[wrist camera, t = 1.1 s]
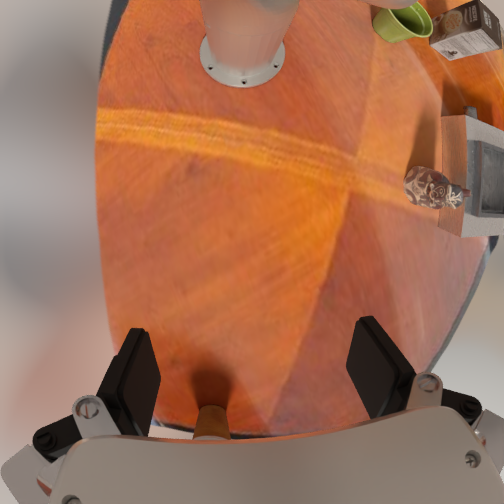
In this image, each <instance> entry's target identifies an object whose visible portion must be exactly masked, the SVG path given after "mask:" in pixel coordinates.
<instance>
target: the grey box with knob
mask: <svg viewBox="0 0 504 504" xmlns="http://www.w3.org/2000/svg"><path fill="white" fill-rule="evenodd" d="M463 109H464V115H456V116H442V117H441V124H442V155H443V159H442V174H443V175H444V176H445V177H446V178H447V179H448V180H449V182H450V183H453V184H456V185H460V186H461V187H462V188H463V189H468V190H470V191H471V196H470V197H463V203H462V204H461V205H460V206H459V207H457V208H456V209H453V208H451V207H446V206H444V207H443V208H441V209H440V215H439V224H438V227H439V228H441V229H443V230H446V231H448V232H450V233H452V234H454V235H457V236H459V237H477V236H492V235H504V131H502V130H500V129H498V128H495V127H493V126H491V125H489V124H486V123H484V122H482V121H479V120H477V109H476V108H475V107H471V106H464V107H463Z"/></svg>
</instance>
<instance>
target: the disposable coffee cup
mask: <svg viewBox="0 0 504 504" xmlns="http://www.w3.org/2000/svg"><path fill="white" fill-rule="evenodd" d="M192 440H231V438H230V433H229V427H228V422H227V416H226V411H225V410H224V409H223V408H222V407H220V406H217V405H206V406H203V407H202V408H201V409H200V411H199V415H198V419H197V423H196V427H195V431H194V435H193V439H192Z"/></svg>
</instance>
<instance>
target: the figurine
mask: <svg viewBox="0 0 504 504" xmlns="http://www.w3.org/2000/svg"><path fill="white" fill-rule="evenodd" d="M403 184H404V193H405V194H406V196H407V198H408V199H409V201H410V202H411V203H412V204H415V205H419V206H423V207H428V208H433V209H441V208H443V207H444V206H446V207H451V208H453V209H456V208H457V207H459V206H460V205H461V204H462V203H463V197H470V196H471V191H470V190H468V189H463V188H462V187H461V186H460V185H456V184H453V183H450V182H449V180H448V179H447V178H446V177H445V176H444V175H443V174H442V173H440V172H438V171H435V170H433V169H430V168H427V167H423V166H415V167H412V168H411V170H410V171H409V172H408V174H407V176H406V177H405V179H404V181H403Z"/></svg>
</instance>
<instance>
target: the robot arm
mask: <svg viewBox="0 0 504 504" xmlns="http://www.w3.org/2000/svg"><path fill="white" fill-rule="evenodd" d="M199 1H200V6H201V10H202V15H203V20H204V25H205V30H206V36H205V37H204V39H203V40H202V43H201V46H200V60H201V63H202V65H203V67H204V69H205V71H206V72H207V73H208V75H209V76H210V77H212V78H213V79H214V80H215V81H217V82H219V83H221V84H223V85H226V86H229V87H235V88H250V87H255V86H258V85H261V84H264V83H265V82H267V81H269V80H270V79H272V78H273V77H274V76H275V75H276V74H277V73H278V72H279V70H280V69H281V67H282V65H283V62H284V59H285V47H284V44H283V41H282V40H283V38H284V36H285V34H286V32H287V30H288V28H289V26H290V24H291V22H292V20H293V18H294V15H295V13H296V11H297V9H298V6H299V0H199ZM357 1H361V2H364V3H367V4H371V5H374V6H378V7H382V8H387V9H403V8H407V7H409V6H411V5H413V4H414V3H416V2H417V1H418V0H357ZM274 66H277V68H275V67H274ZM209 68H212V70H209ZM242 82H245V83H246V84H242ZM346 368H347V371H348V373H349V375H350V377H351V379H352V381H353V383H354V385H355V387H356V389H357V392H358V394H359V396H360V398H361V400H362V402H363V404H364V406H365V408H366V410H367V412H368V414H369V416H370V419H371V420H367V421H363V422H359V423H355V424H351V425H346V426H342V427H337V428H332V429H327V430H322V431H316V432H310V433H303V434H296V435H289V436H280V437H270V438H259V439H242V440H186V439H168V438H155V437H148V433H149V428H150V424H151V420H152V415H153V411H154V406H155V402H156V398H157V394H158V390H159V386H160V381H161V375H160V372H159V368H158V365H157V362H156V358H155V355H154V351H153V348H152V344H151V340H150V337H149V333H148V332H145V330H144V329H143V328H131V329H130V331H129V333H128V335H127V337H126V339H125V341H124V343H123V345H122V347H121V349H120V351H119V353H118V355H116V356H114V358H113V360H112V362H111V364H110V366H109V368H108V370H107V372H106V374H105V376H104V379H103V381H102V383H101V385H100V387H99V390H98V392H97V394H96V396H94V395H87V396H82V397H81V398H79V399H77V401H75V403H74V404H73V407H72V413H73V414H72V415H70V416H68V417H65V418H63V419H61V420H59V421H57V422H54V423H52V424H50V425H47V426H45V427H42V428H40V429H39V430H37V431H36V433H35V434H34V436H33V444H32V445H31V446H29V445H28V444H27V445H26V446H25V447H24V448H23V449H21V450H20V451H19V452H18V453H16V454H15V455H14V456H13V457H12V458H10V459H9V460H8V461H7V462H5V463H4V464H3V466H2V468H1V476H2V478H3V480H4V482H5V483H6V485H7V487H8V488H9V490H10V491H11V493H12V494H13V496H14V497H15V498H16V500H17V501H18V502H19V504H504V484H503V481H502V479H501V477H500V475H499V474H500V472H501V470H502V468H503V466H504V419H503V418H501V417H500V416H498V415H496V414H494V413H492V412H491V411H489V410H487V409H485V410H484V411H483V410H482V406H481V404H480V402H479V401H478V400H477V399H476V398H475V397H472V396H469V395H465V394H461V393H458V392H454V391H451V390H447V389H443V383H442V381H441V379H440V378H439V377H438V376H437V375H435V374H433V373H431V372H421V373H419V374H416V373H415V371H414V369H413V367H412V366H411V365H410V363H409V362H408V361H407V359H406V358H405V357H404V355H403V354H402V353H401V351H400V350H399V349H398V347H397V346H396V345H395V343H394V342H393V341H392V340H391V338H390V337H389V336H388V334H387V333H386V332H385V331H384V329H383V328H382V327H381V326H380V324H379V323H378V322H377V321H376V319H375V318H374V317H373V316H365V317H360V319H359V320H358V321H356V324H355V329H354V333H353V338H352V342H351V346H350V350H349V354H348V358H347V362H346Z"/></svg>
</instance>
